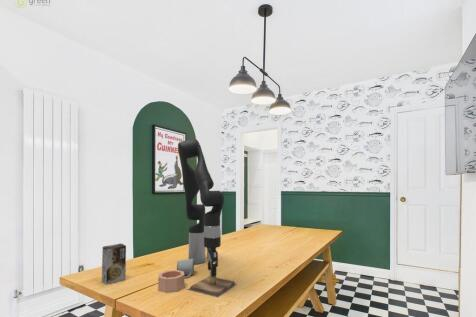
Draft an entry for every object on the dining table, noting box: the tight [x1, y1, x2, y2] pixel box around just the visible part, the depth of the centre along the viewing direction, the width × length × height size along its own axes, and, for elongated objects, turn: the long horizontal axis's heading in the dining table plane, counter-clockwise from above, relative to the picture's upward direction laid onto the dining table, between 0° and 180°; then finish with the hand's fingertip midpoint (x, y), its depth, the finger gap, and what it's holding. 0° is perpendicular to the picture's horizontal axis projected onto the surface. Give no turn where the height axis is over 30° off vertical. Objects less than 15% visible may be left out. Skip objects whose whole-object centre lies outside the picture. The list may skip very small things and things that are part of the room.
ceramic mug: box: [176, 258, 195, 280], centre depth 134 cm, size 11×8×8 cm
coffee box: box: [101, 243, 127, 285], centre depth 129 cm, size 9×6×16 cm
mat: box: [186, 282, 238, 298], centre depth 119 cm, size 16×16×1 cm
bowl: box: [157, 269, 185, 294], centre depth 119 cm, size 11×11×6 cm
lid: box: [189, 269, 235, 296], centre depth 119 cm, size 14×14×7 cm
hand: (212, 273), depth 119 cm, fingers open, 8 cm apart
